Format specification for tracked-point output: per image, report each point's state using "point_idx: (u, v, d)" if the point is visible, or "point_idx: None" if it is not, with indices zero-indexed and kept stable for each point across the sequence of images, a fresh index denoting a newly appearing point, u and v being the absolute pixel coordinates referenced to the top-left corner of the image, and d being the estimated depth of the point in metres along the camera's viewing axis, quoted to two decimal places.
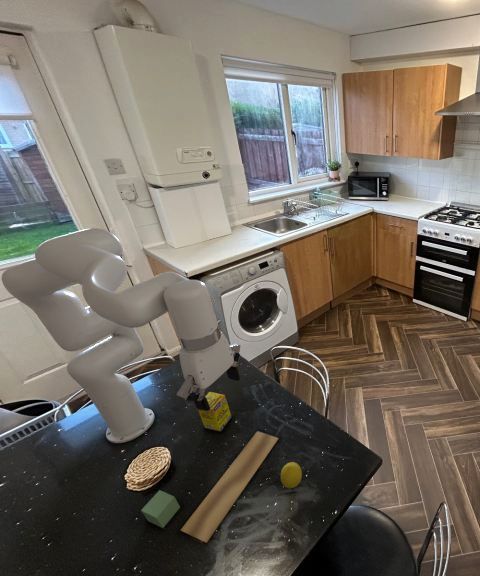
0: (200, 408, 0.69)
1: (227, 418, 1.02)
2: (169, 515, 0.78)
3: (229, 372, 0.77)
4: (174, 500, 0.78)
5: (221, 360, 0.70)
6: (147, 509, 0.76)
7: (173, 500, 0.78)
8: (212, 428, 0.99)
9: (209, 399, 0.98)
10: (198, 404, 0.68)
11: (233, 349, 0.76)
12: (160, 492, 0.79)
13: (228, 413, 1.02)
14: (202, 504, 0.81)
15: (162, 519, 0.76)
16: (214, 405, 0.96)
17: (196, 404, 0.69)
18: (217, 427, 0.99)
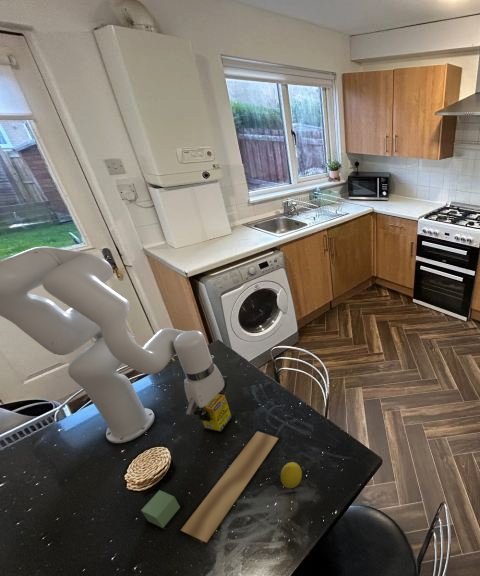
0: (203, 419, 0.95)
1: (227, 418, 1.02)
2: (169, 515, 0.78)
3: None
4: (174, 500, 0.78)
5: (214, 386, 0.95)
6: (147, 509, 0.76)
7: (173, 500, 0.78)
8: (212, 428, 0.99)
9: None
10: (202, 417, 0.95)
11: (223, 379, 1.00)
12: (160, 492, 0.79)
13: (228, 413, 1.02)
14: (202, 504, 0.81)
15: (162, 519, 0.76)
16: (214, 405, 0.96)
17: (200, 417, 0.95)
18: (217, 427, 0.99)
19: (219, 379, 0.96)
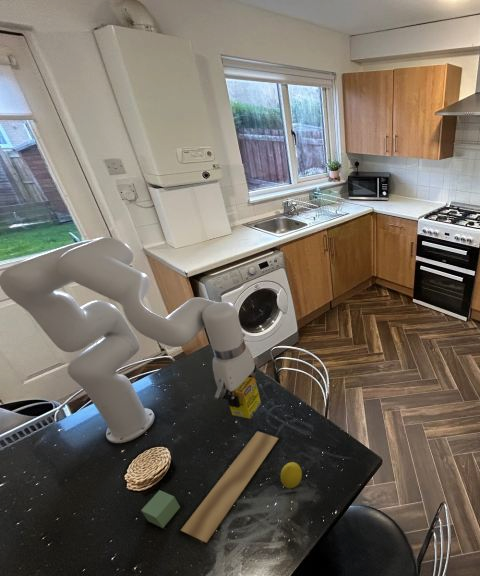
0: (232, 405, 0.84)
1: (257, 404, 0.91)
2: (169, 515, 0.78)
3: None
4: (174, 500, 0.78)
5: (245, 367, 0.84)
6: (147, 509, 0.76)
7: (173, 500, 0.78)
8: (241, 415, 0.88)
9: None
10: (231, 402, 0.84)
11: None
12: (160, 492, 0.79)
13: (258, 399, 0.91)
14: (202, 504, 0.81)
15: (162, 519, 0.76)
16: (244, 389, 0.85)
17: (229, 402, 0.84)
18: (247, 414, 0.88)
19: (250, 360, 0.85)
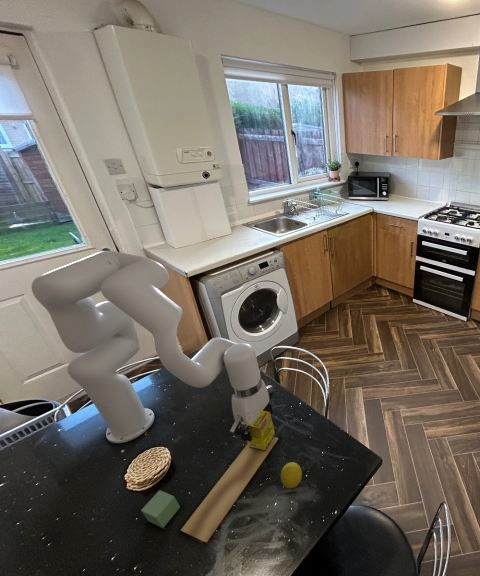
0: (245, 439, 0.88)
1: (271, 436, 0.96)
2: (169, 515, 0.78)
3: (264, 408, 0.96)
4: (174, 500, 0.78)
5: (261, 401, 0.89)
6: (147, 509, 0.76)
7: (173, 500, 0.78)
8: (257, 447, 0.94)
9: None
10: (244, 436, 0.87)
11: (268, 390, 0.95)
12: (160, 492, 0.79)
13: (272, 431, 0.97)
14: (202, 504, 0.81)
15: (162, 519, 0.76)
16: (261, 423, 0.90)
17: (242, 436, 0.87)
18: (262, 446, 0.93)
19: (265, 394, 0.90)
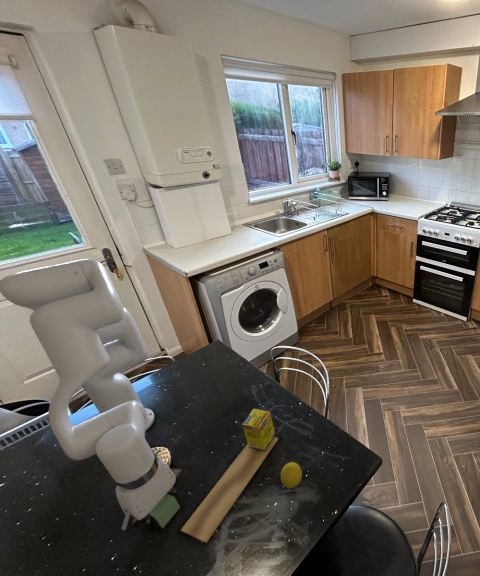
0: (149, 527, 0.75)
1: (271, 436, 0.96)
2: (169, 515, 0.78)
3: None
4: (174, 500, 0.78)
5: (160, 487, 0.74)
6: None
7: (173, 500, 0.78)
8: (257, 447, 0.94)
9: (254, 416, 0.92)
10: (146, 525, 0.74)
11: (173, 473, 0.79)
12: None
13: (272, 431, 0.97)
14: (202, 504, 0.81)
15: (162, 519, 0.76)
16: (261, 423, 0.90)
17: (145, 524, 0.75)
18: (262, 446, 0.93)
19: (167, 476, 0.75)
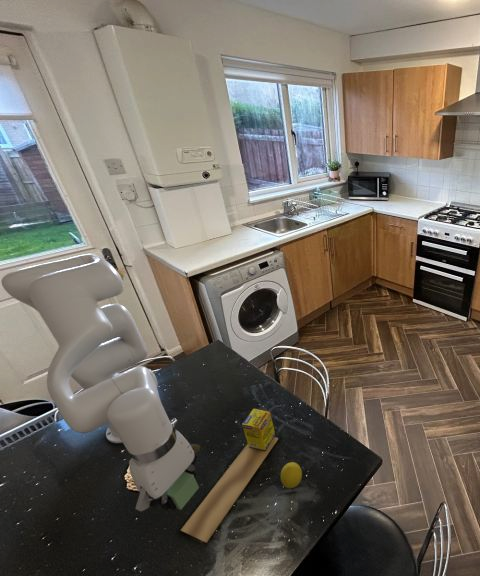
0: (165, 508, 0.66)
1: (271, 436, 0.96)
2: (187, 495, 0.69)
3: None
4: (193, 479, 0.70)
5: (178, 463, 0.65)
6: None
7: (192, 479, 0.70)
8: (257, 447, 0.94)
9: (254, 416, 0.92)
10: (163, 505, 0.66)
11: None
12: None
13: (272, 431, 0.97)
14: (202, 504, 0.81)
15: (180, 500, 0.67)
16: (261, 423, 0.90)
17: (161, 505, 0.66)
18: (262, 446, 0.93)
19: (185, 451, 0.67)
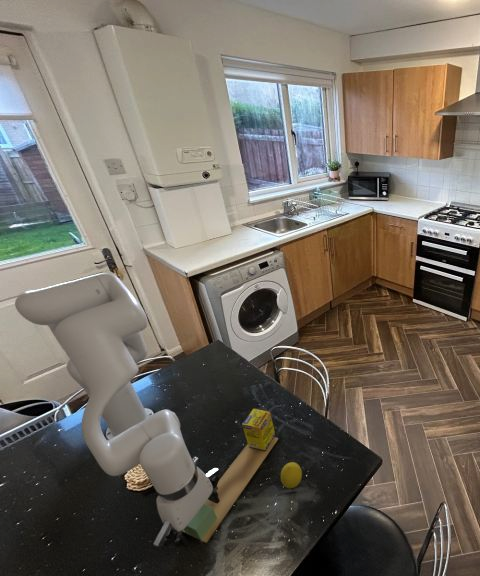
0: (178, 546, 0.70)
1: (271, 436, 0.96)
2: (207, 526, 0.75)
3: (209, 496, 0.79)
4: (212, 511, 0.76)
5: (199, 497, 0.71)
6: None
7: (211, 511, 0.76)
8: (257, 447, 0.94)
9: (254, 416, 0.92)
10: (176, 543, 0.70)
11: (212, 476, 0.77)
12: None
13: (272, 431, 0.97)
14: None
15: (201, 531, 0.74)
16: (261, 423, 0.90)
17: (174, 542, 0.70)
18: (262, 446, 0.93)
19: (205, 486, 0.73)
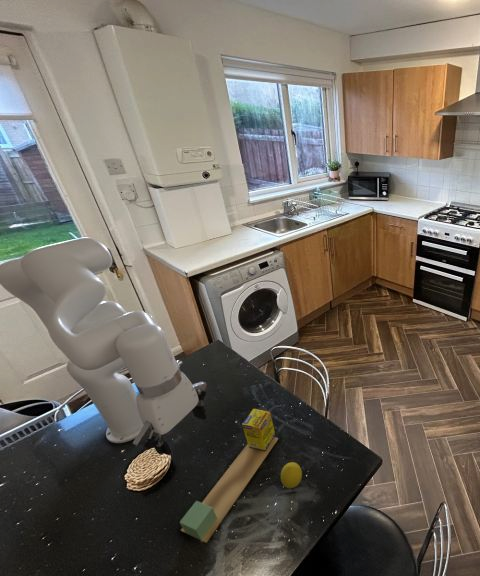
0: (160, 453, 0.67)
1: (271, 436, 0.96)
2: (207, 526, 0.75)
3: (195, 411, 0.75)
4: (212, 511, 0.76)
5: (183, 403, 0.68)
6: (186, 521, 0.73)
7: (211, 511, 0.76)
8: (257, 447, 0.94)
9: (254, 417, 0.92)
10: (158, 449, 0.66)
11: (198, 388, 0.73)
12: (197, 503, 0.77)
13: (272, 431, 0.97)
14: None
15: (201, 531, 0.74)
16: (261, 423, 0.90)
17: (156, 449, 0.66)
18: (262, 446, 0.93)
19: (190, 393, 0.69)
